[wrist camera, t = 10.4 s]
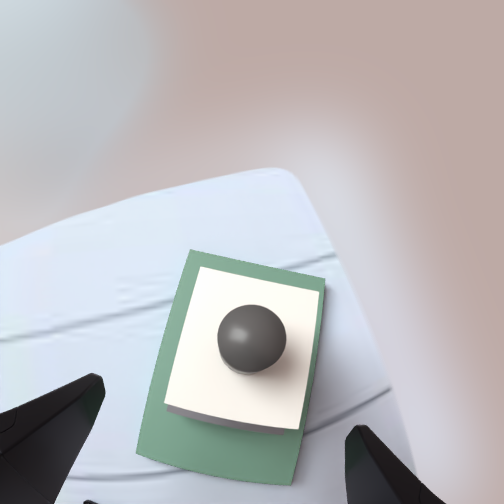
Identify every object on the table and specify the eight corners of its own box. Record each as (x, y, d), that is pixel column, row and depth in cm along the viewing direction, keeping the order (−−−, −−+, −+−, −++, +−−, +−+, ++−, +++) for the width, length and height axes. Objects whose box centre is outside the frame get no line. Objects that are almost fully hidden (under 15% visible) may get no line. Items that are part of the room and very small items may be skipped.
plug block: (257, 406, 18) (317, 439, 6) (198, 393, 18) (147, 406, 6) (269, 343, 20) (339, 268, 8) (213, 332, 20) (196, 237, 8)
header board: (287, 481, 16) (301, 499, 12) (140, 450, 16) (121, 462, 12) (321, 283, 24) (338, 262, 21) (191, 255, 25) (185, 229, 21)
